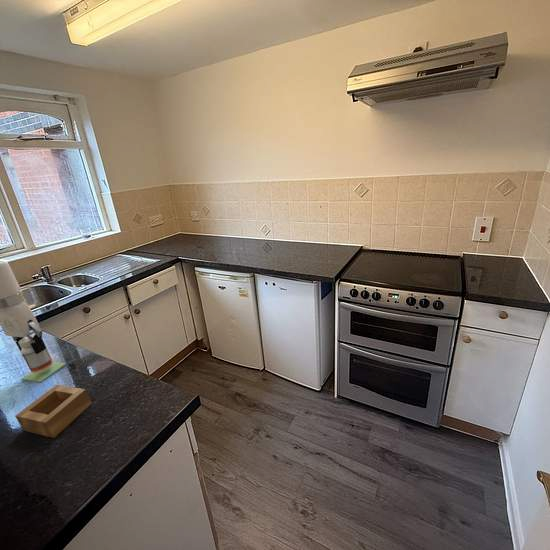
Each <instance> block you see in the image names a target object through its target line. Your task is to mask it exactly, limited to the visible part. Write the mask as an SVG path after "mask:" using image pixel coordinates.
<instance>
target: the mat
mask: <svg viewBox="0 0 550 550" xmlns="http://www.w3.org/2000/svg"><path fill="white" fill-rule="evenodd" d="M67 365H68V364H67V363H66V362H60V361H53V364H52V366H51V367H49V368H48V369H46V370H44V371H42V372H39V373H32V372H31V371H30V372H29V373H27V374H25V375H24V376H22V377H21V381H28V382H34V383H40V384H41V383H43V382H45V380H47V379H49V378H50V377H52V376H53V375H54V374H56V373H57V372H58V371H60V370H61V369H62V368H64V367H66V366H67Z"/></svg>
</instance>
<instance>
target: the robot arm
mask: <svg viewBox="0 0 550 550" xmlns="http://www.w3.org/2000/svg"><path fill="white" fill-rule="evenodd" d="M26 301H27V299H26V297H25V295H24V292H23V290H22V288H21V286H20V284H19V283H18V280H17V279H16V276H15V273H14V272H13V269H12V268H11V266H10V264H9V262H8V261H7V260H5V259H2V258H1V259H0V327H1V330H2V331H3V334H4V335H5V336H8V337H12V340H13V341H14V342H15V344H16V346H17V348H18V350H19V352H20V353H21V349H22V348H21V347H20V345H19V343H18V342H19V341H20V340H21V339H23V338H24V337H28V339H29V340H30V341H31V342H32V343H30V344H31V346H32V348H33V350H34V352H35V354H38V353H40V352H42V351H43V350H45V349H46V348H47V346H46V344H45V342H44V339H43V332H44V330H43V328H41V327H40V324H39V322H38V319H37V317H36V316H35V314H34V312H33V311H32V309H31V308H30V306H29V304H28V303H27V302H26ZM34 334H35V335H34ZM31 335H34V337H32V336H31Z"/></svg>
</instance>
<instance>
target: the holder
mask: <svg viewBox="0 0 550 550" xmlns="http://www.w3.org/2000/svg"><path fill="white" fill-rule="evenodd" d="M92 404H93V403H92V401H91V398H90V396H89V394H88V391H87V389H86V388H79V387H73V386H65V385H62V384H55V385H54V386H52V387H51V388H50V389H49V390H47V391H46V392H45V393H43V394H42V395H41V396H39V397H38V398H37V399H35V400H33V402H32V403H30V404H29V405H27V406H26V407H24V408H23V409H22V410H20V411H19V412H18V413H16V414H15V415H14V417H15V419H16V420H17V422H18V424H19V426H20V427H21V429H22V430H23V432H27V433H28V432H29V433H32V434H36V435H40V436H45V437H49V438H53V439H55V438H56V437H57V436H58V435H59V434H60V433H61V432H63V430H65V429H66V428H67V427H68V426H69V425H70V424H72V423H73V421H74V420H75V419H77V418H78V417H79V416H80V415H81V414H82V413H84V411H86V409H88V408H89V407H90V406H91V405H92Z"/></svg>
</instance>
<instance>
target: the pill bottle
mask: <svg viewBox="0 0 550 550" xmlns="http://www.w3.org/2000/svg"><path fill="white" fill-rule="evenodd" d="M34 335H35V333H33V334H32V335H31V336H32V337H34ZM18 343H19V345H20V347H21V348H22V349H21V352H20V354H21V356H22V357H23V359H24V361H25V363H26V365H27V367H28V368H29V370H30V372H32V373H39V372H42V371H44V370H46V369H48V368H49V367H51V366H52V364H53V362H54V360H53V358H52V356H51V354H50V353H49V350H48V348H47V347H46V349H45V350H43V351H42V352H40V353H38V354H35V352H34V350H33V348H32V346H31V344H30V343H32V342H31V341H30V340H29V339H28V337H24V338H23V339H21V340H20V341H19V342H18Z"/></svg>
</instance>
